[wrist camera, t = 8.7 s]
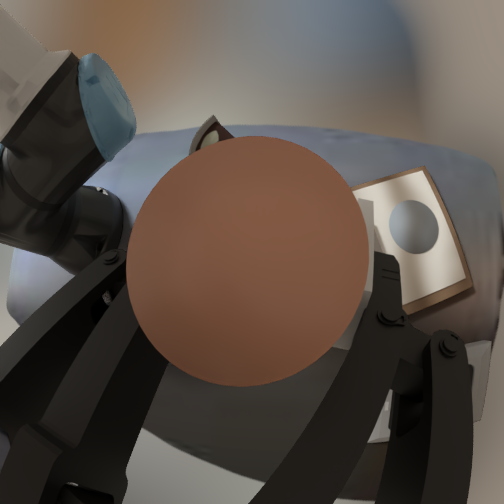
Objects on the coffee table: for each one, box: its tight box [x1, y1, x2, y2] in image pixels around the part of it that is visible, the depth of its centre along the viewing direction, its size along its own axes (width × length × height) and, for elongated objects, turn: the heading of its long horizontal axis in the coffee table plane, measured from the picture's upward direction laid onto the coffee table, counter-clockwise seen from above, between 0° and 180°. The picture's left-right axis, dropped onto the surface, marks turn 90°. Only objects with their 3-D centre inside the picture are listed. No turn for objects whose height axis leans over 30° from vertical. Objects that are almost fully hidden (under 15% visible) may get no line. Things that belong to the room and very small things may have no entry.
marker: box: [126, 136, 369, 387], centre depth 11 cm, size 5×5×13 cm
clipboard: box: [350, 166, 473, 315], centre depth 25 cm, size 12×15×2 cm
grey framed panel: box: [367, 340, 491, 443], centre depth 20 cm, size 10×4×15 cm
